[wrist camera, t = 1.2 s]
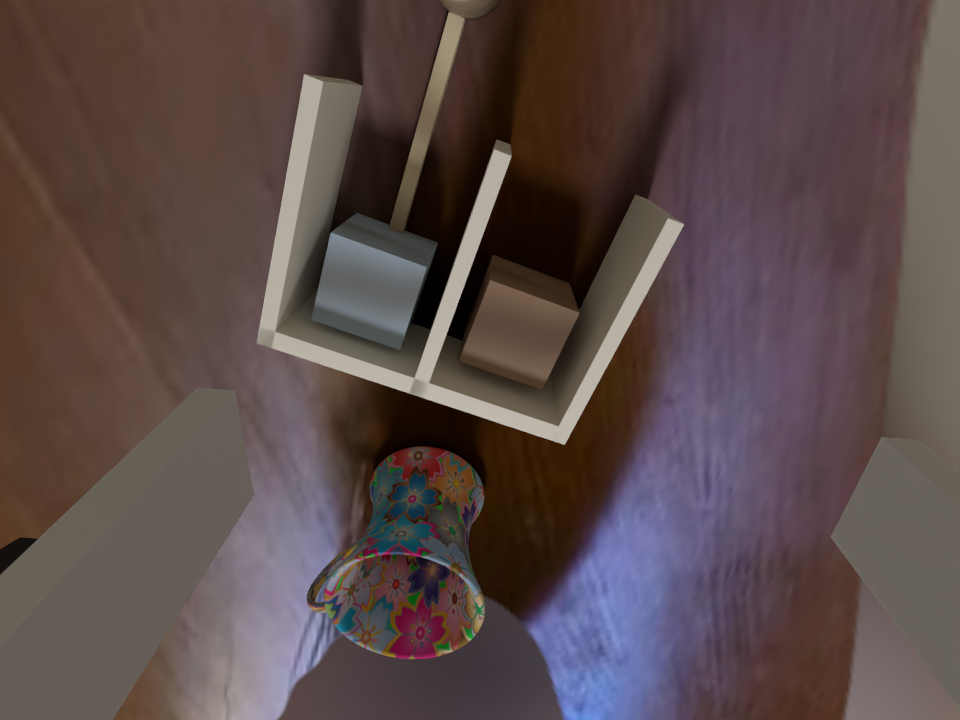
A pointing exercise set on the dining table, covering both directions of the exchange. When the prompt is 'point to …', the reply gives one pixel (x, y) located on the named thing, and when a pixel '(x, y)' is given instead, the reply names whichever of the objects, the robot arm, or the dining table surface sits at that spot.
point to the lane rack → (432, 353)
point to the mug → (410, 560)
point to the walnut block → (518, 323)
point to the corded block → (391, 227)
